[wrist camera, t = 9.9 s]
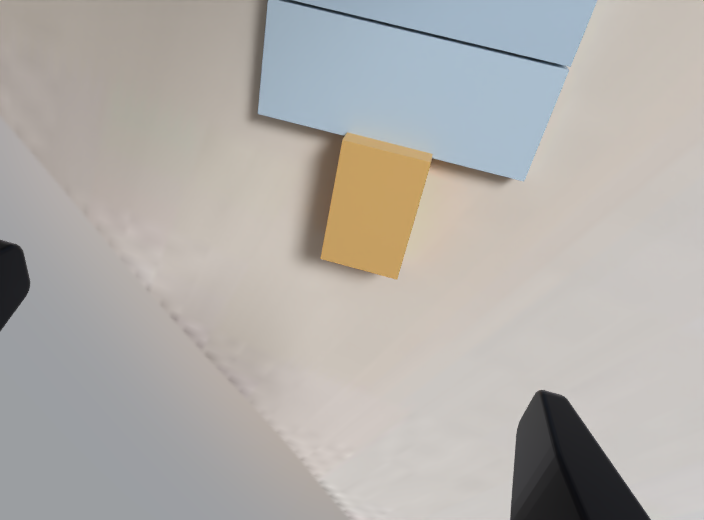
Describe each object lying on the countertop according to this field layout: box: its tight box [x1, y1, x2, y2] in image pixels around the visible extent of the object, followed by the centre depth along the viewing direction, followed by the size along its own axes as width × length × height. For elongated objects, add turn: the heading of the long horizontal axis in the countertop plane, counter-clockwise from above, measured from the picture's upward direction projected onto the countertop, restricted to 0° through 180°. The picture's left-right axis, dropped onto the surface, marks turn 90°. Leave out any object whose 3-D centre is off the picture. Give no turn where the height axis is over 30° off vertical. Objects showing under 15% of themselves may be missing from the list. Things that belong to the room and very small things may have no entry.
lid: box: [258, 0, 597, 279], centre depth 16 cm, size 9×16×2 cm, turn 169°
